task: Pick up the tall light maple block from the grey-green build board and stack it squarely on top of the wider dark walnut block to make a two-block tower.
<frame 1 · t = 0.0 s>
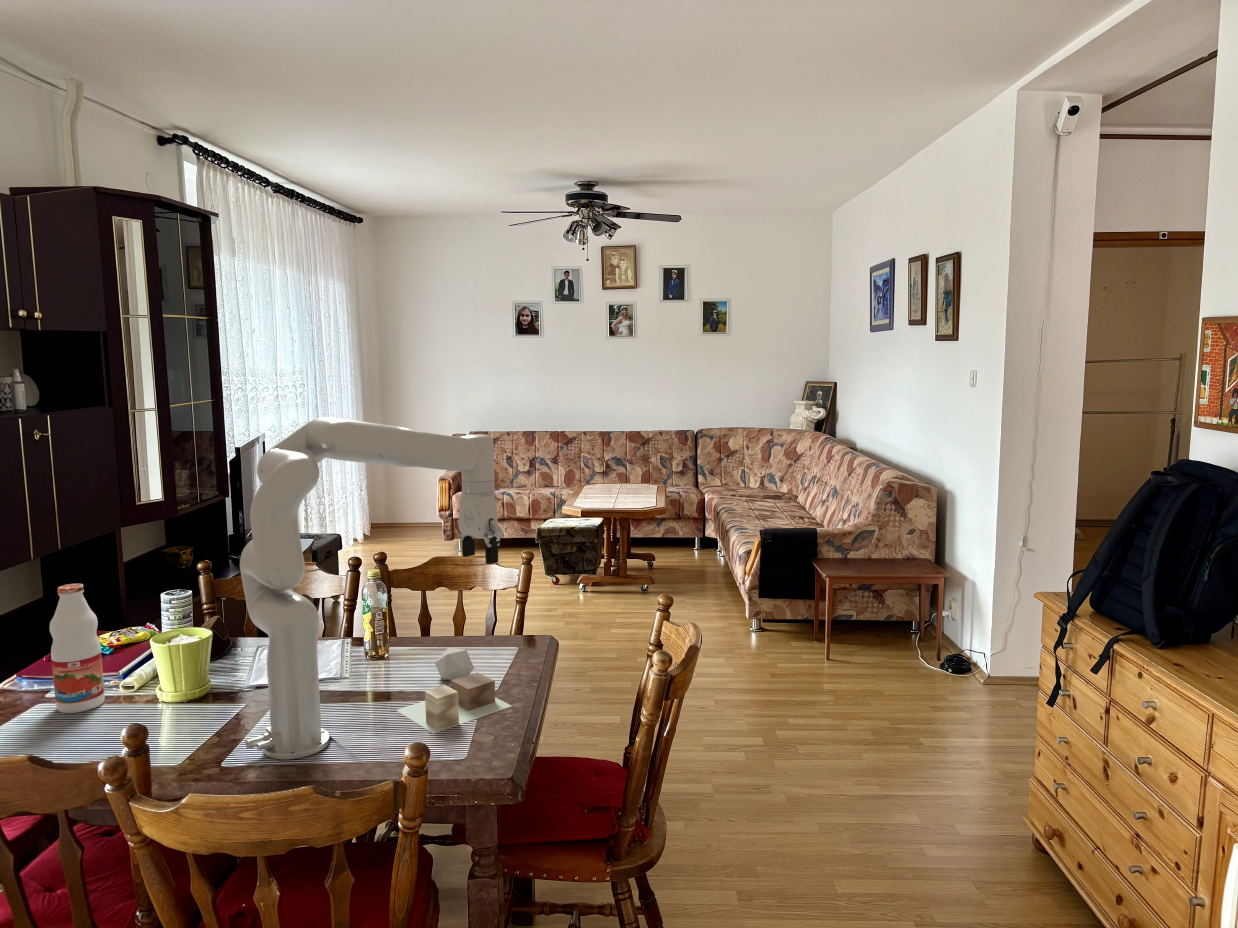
hand: (480, 559, 195), 31 cm above the table, tool pointing down, fingers open, 9 cm apart
walnut block: (473, 701, 188), point 1 cm above the table, touching build board
maple block: (442, 722, 176), point 1 cm above the table, touching build board
die: (454, 681, 203), on the table
build board: (454, 712, 184), on the table
fruit juice: (81, 706, 189), on the table
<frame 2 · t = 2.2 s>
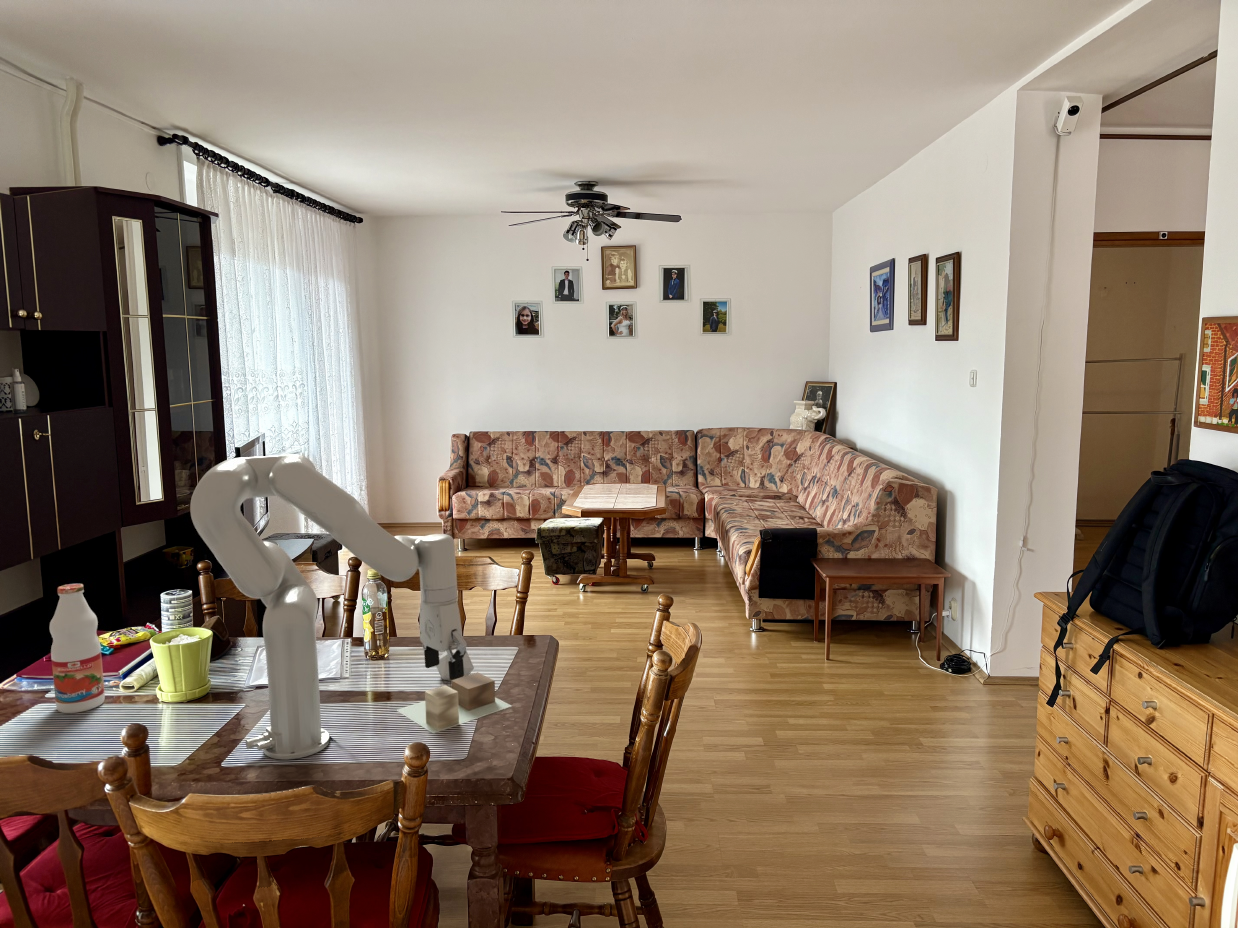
hand: (444, 671, 175), 12 cm above the table, tool pointing down, fingers open, 9 cm apart
nothing on the table moved.
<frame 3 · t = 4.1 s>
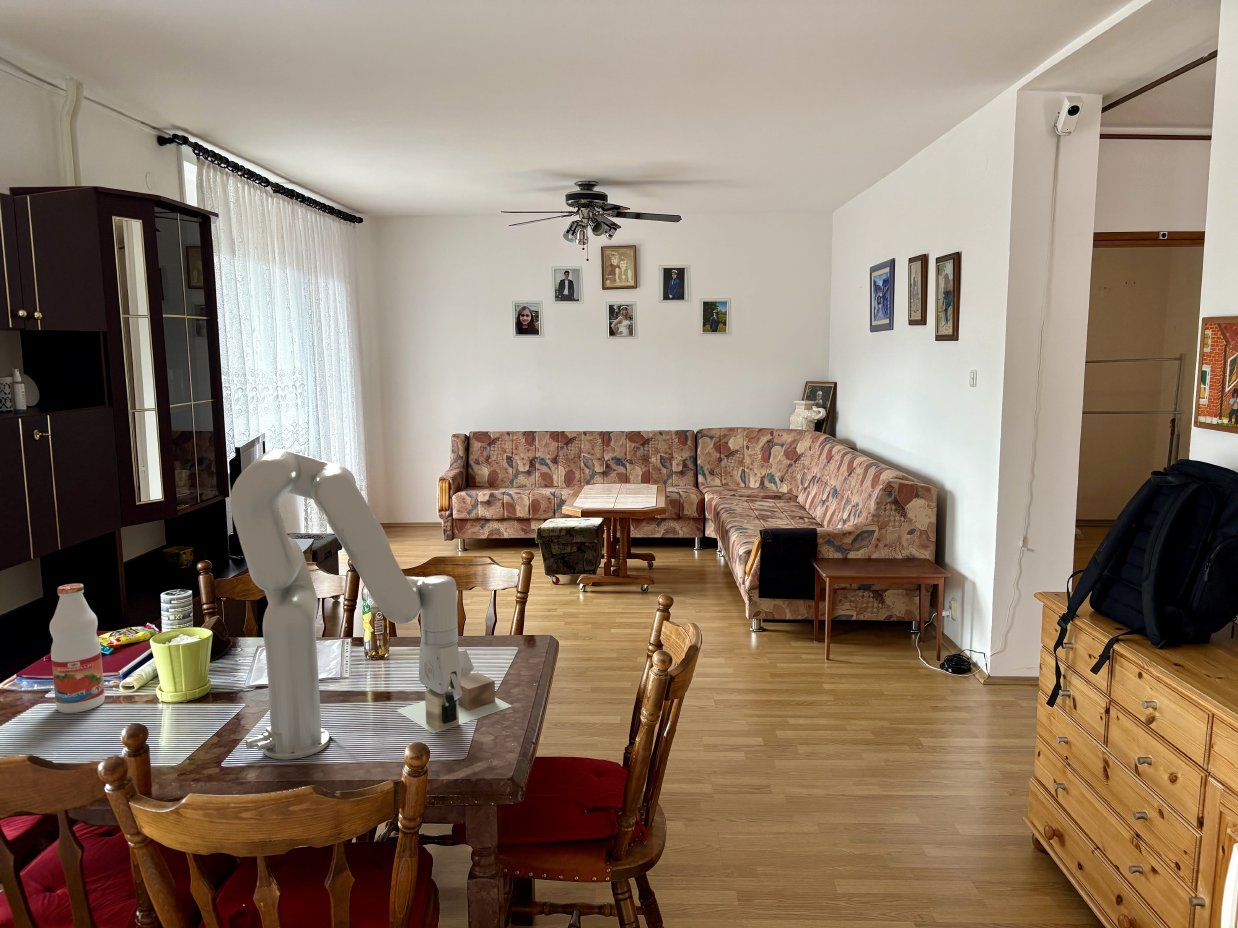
hand: (442, 716, 176), 2 cm above the table, tool pointing down, fingers closed on maple block, 5 cm apart
maple block: (442, 722, 176), point 1 cm above the table, touching build board, gripper
everything else where it was.
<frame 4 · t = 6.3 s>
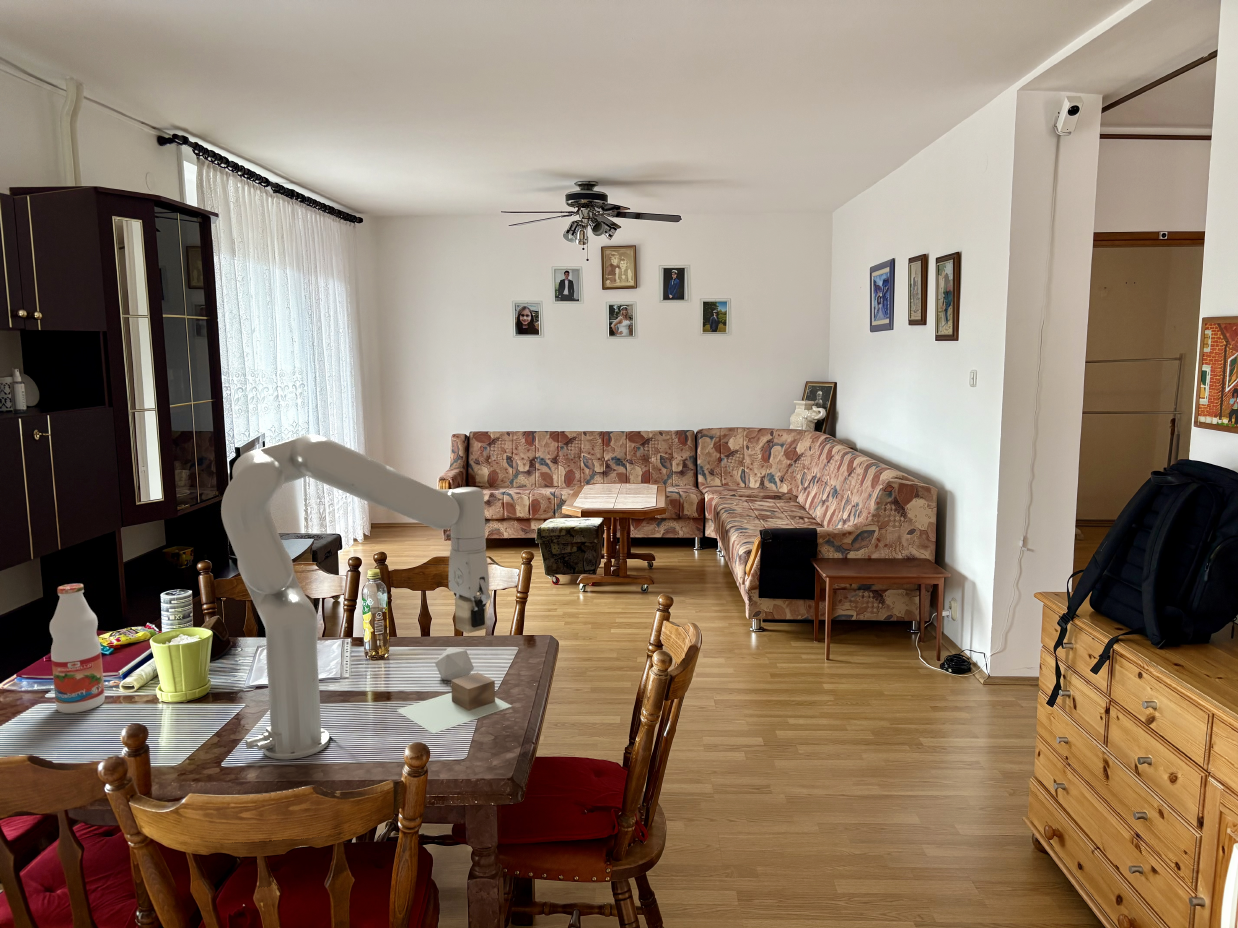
hand: (471, 622, 185), 20 cm above the table, tool pointing down, fingers closed on maple block, 5 cm apart
maple block: (471, 628, 185), point 18 cm above the table, touching gripper
everything else where it was.
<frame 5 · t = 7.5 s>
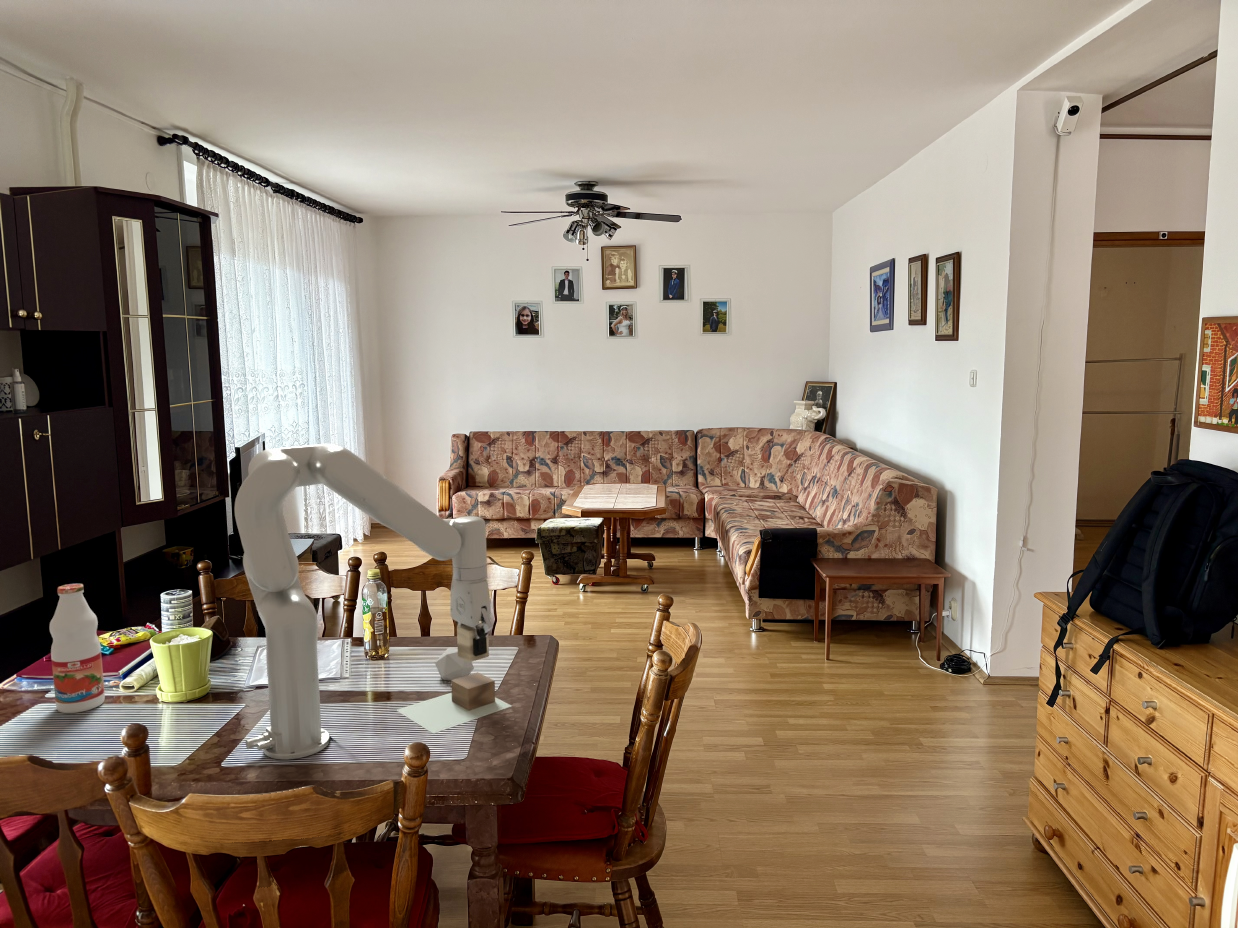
hand: (473, 650, 186), 13 cm above the table, tool pointing down, fingers closed on maple block, 5 cm apart
maple block: (473, 656, 186), point 12 cm above the table, touching gripper
everything else where it was.
when the fingers open (9 cm above the table, at t = 8.6 s): maple block drops 1 cm, resting on walnut block.
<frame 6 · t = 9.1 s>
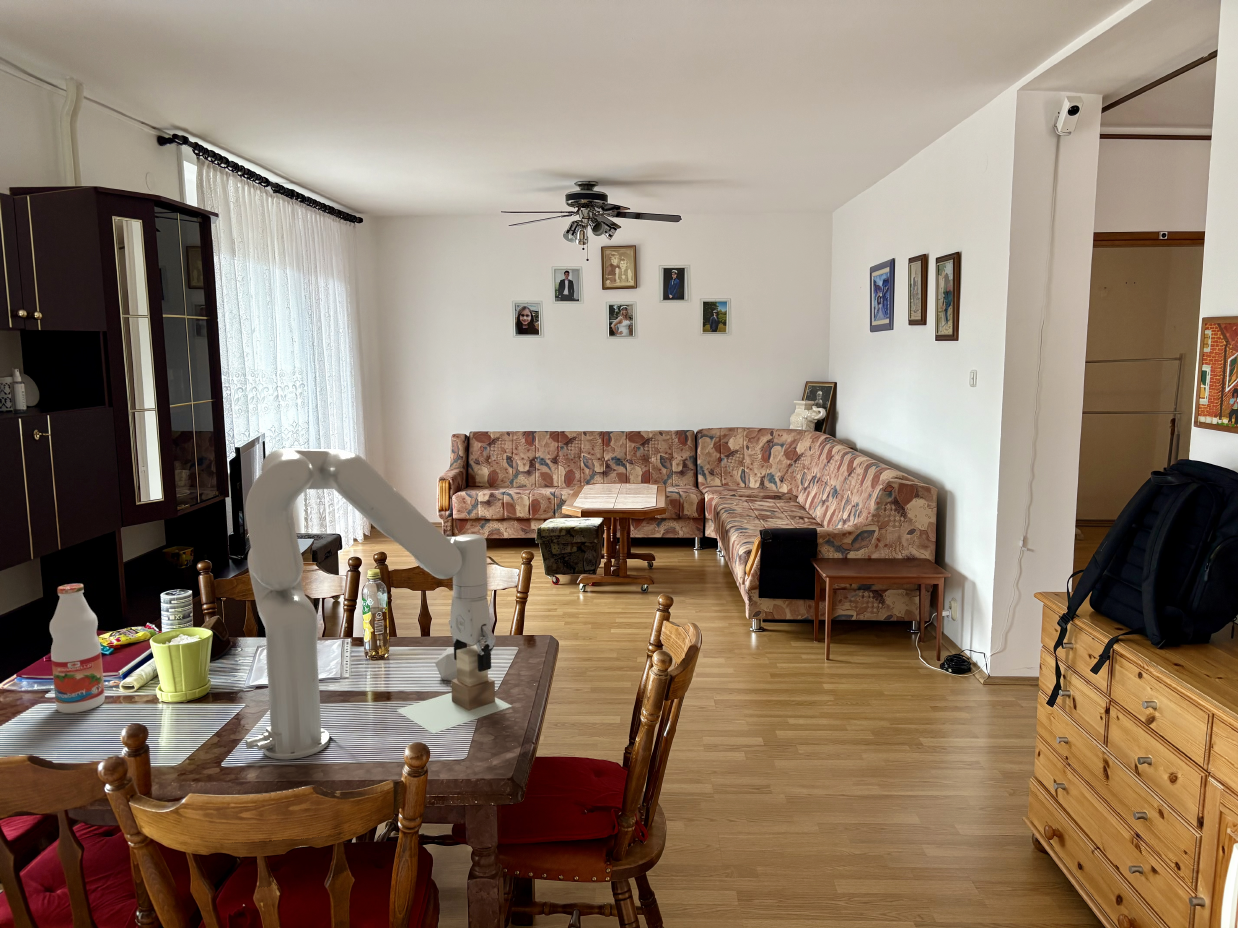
hand: (472, 664, 186), 10 cm above the table, tool pointing down, fingers open, 9 cm apart
walnut block: (473, 701, 188), point 1 cm above the table, touching build board, maple block
maple block: (472, 680, 187), point 6 cm above the table, touching walnut block
everything else where it was.
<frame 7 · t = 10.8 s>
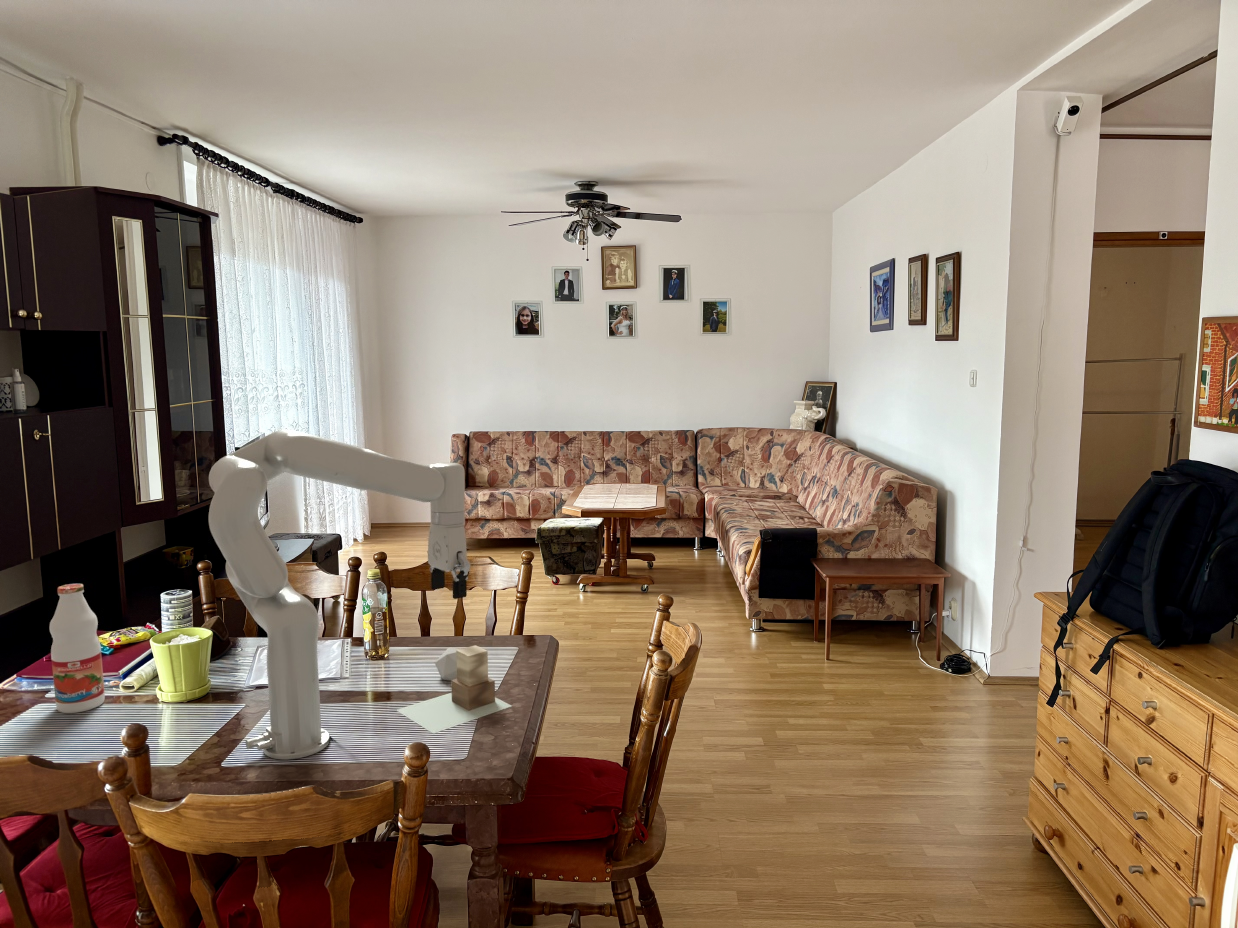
hand: (448, 593, 187), 26 cm above the table, tool pointing down, fingers open, 9 cm apart
nothing on the table moved.
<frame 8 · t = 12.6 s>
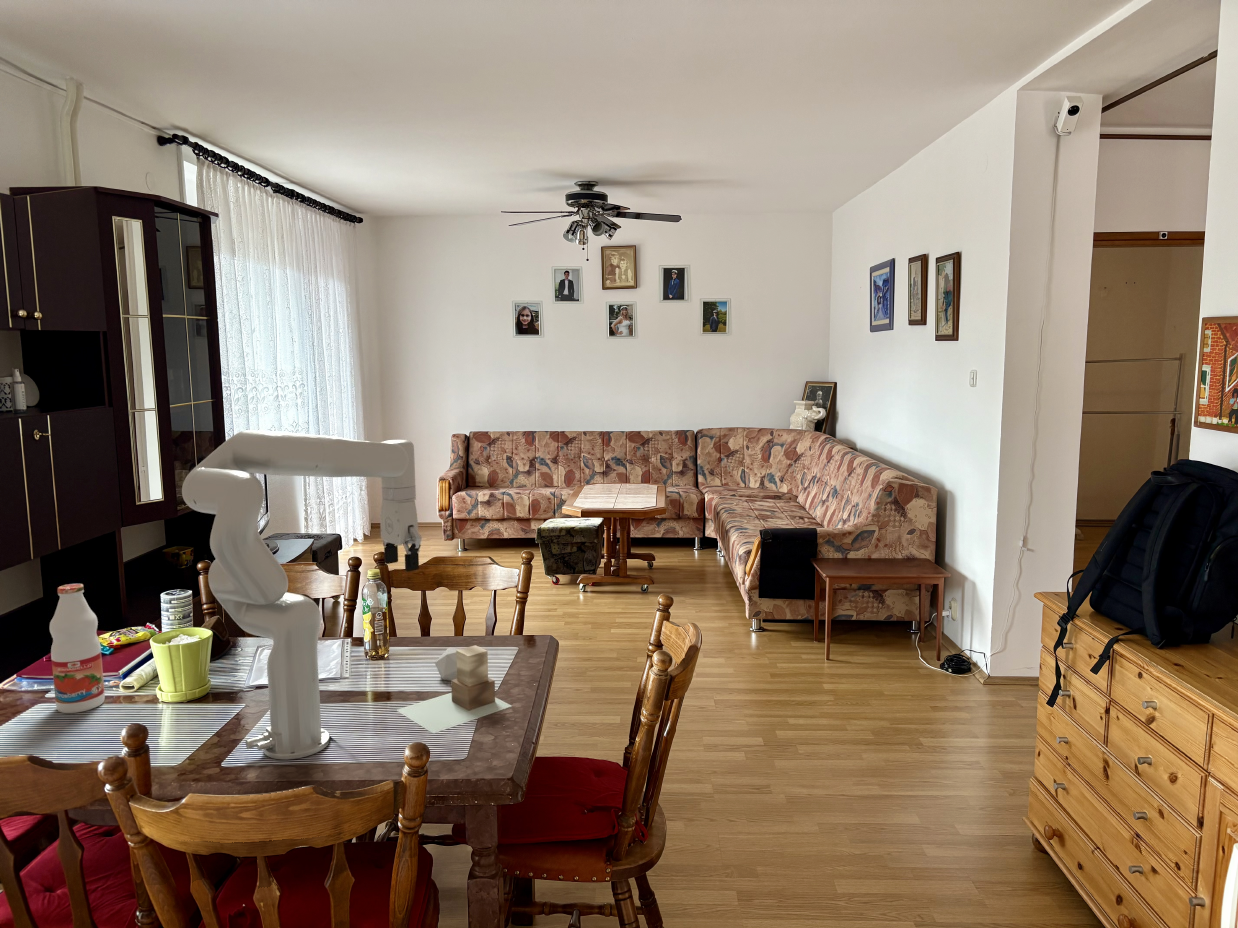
hand: (401, 566, 192), 30 cm above the table, tool pointing down, fingers open, 9 cm apart
nothing on the table moved.
at the end: maple block 0.0 cm off-centre on the walnut block, point 5.0 cm above the walnut block's base; maple block touching walnut block; maple block tilted 0° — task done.
